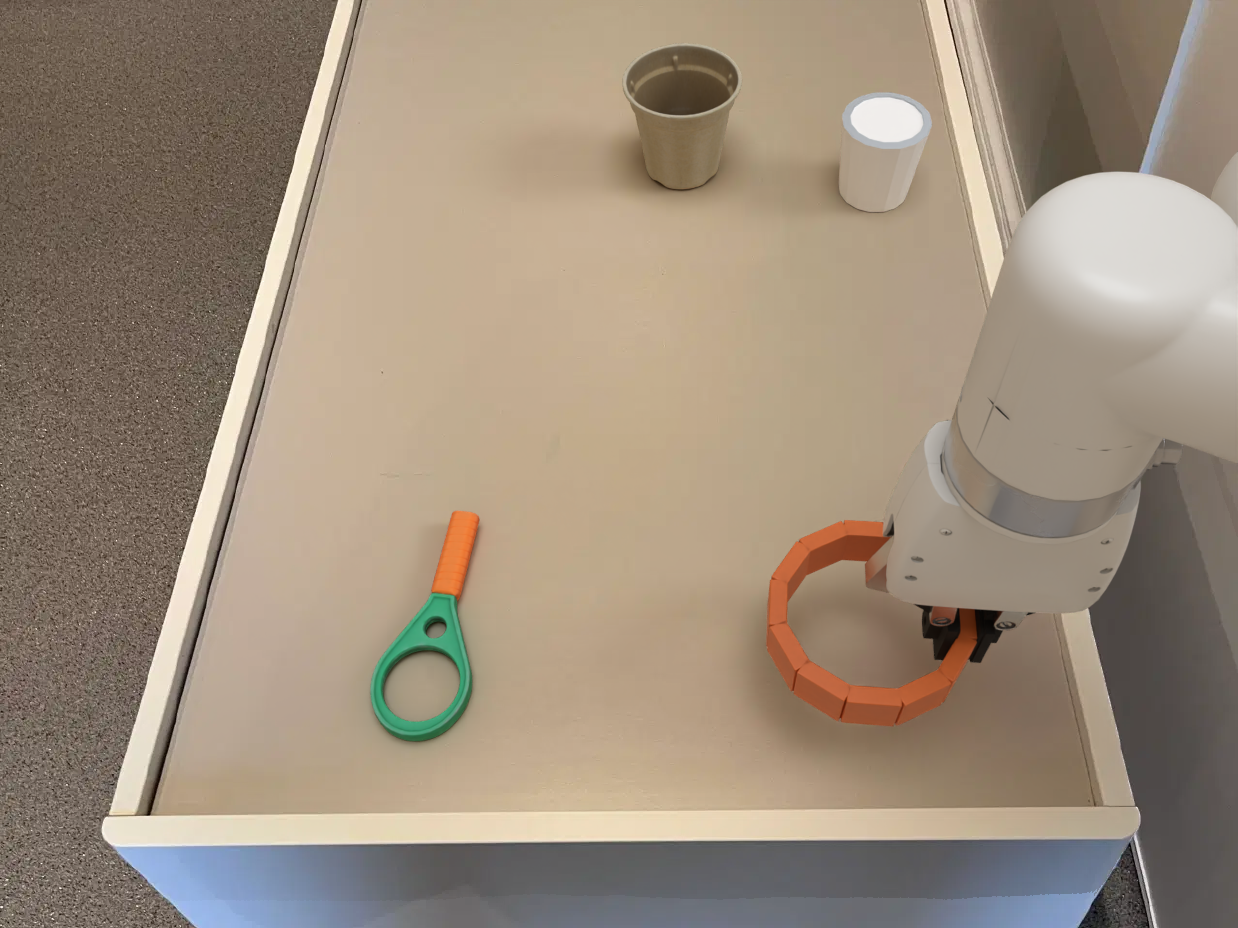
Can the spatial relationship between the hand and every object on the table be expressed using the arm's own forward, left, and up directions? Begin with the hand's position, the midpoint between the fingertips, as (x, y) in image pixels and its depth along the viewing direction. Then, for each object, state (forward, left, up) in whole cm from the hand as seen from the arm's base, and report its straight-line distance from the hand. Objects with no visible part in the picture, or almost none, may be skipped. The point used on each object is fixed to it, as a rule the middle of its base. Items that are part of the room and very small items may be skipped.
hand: (954, 636), depth 59 cm
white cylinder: (+3, -43, -6) cm, 43 cm away
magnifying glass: (+31, -1, -6) cm, 31 cm away
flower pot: (+19, -45, -6) cm, 49 cm away
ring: (+5, 0, 0) cm, 5 cm away
